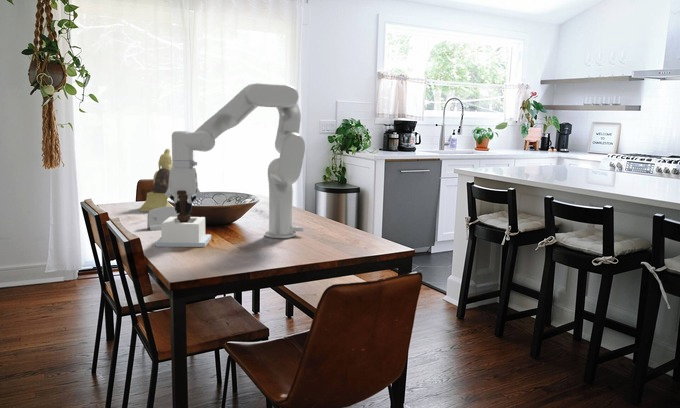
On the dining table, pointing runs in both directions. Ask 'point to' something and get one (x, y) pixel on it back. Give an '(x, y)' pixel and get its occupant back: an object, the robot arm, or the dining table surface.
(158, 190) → the yellow and brown statue
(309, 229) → the dining table surface
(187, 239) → the socket post
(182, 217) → the bolt
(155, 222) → the grey arched bracket
